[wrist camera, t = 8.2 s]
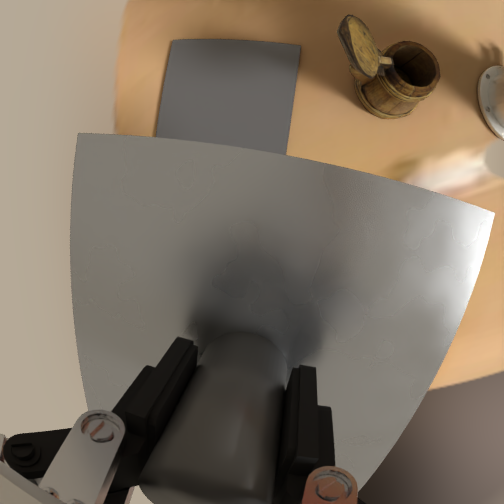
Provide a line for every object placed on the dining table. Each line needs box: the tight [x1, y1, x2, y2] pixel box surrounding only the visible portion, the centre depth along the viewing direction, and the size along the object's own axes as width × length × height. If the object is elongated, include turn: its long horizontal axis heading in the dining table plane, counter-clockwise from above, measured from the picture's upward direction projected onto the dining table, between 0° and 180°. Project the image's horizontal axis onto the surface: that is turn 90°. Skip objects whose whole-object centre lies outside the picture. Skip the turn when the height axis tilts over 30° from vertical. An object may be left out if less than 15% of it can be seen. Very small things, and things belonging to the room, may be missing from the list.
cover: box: [70, 133, 495, 504], centre depth 13 cm, size 15×15×16 cm
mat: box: [156, 39, 301, 155], centre depth 38 cm, size 18×18×1 cm
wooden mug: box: [337, 15, 440, 119], centre depth 27 cm, size 9×14×18 cm, turn 92°
